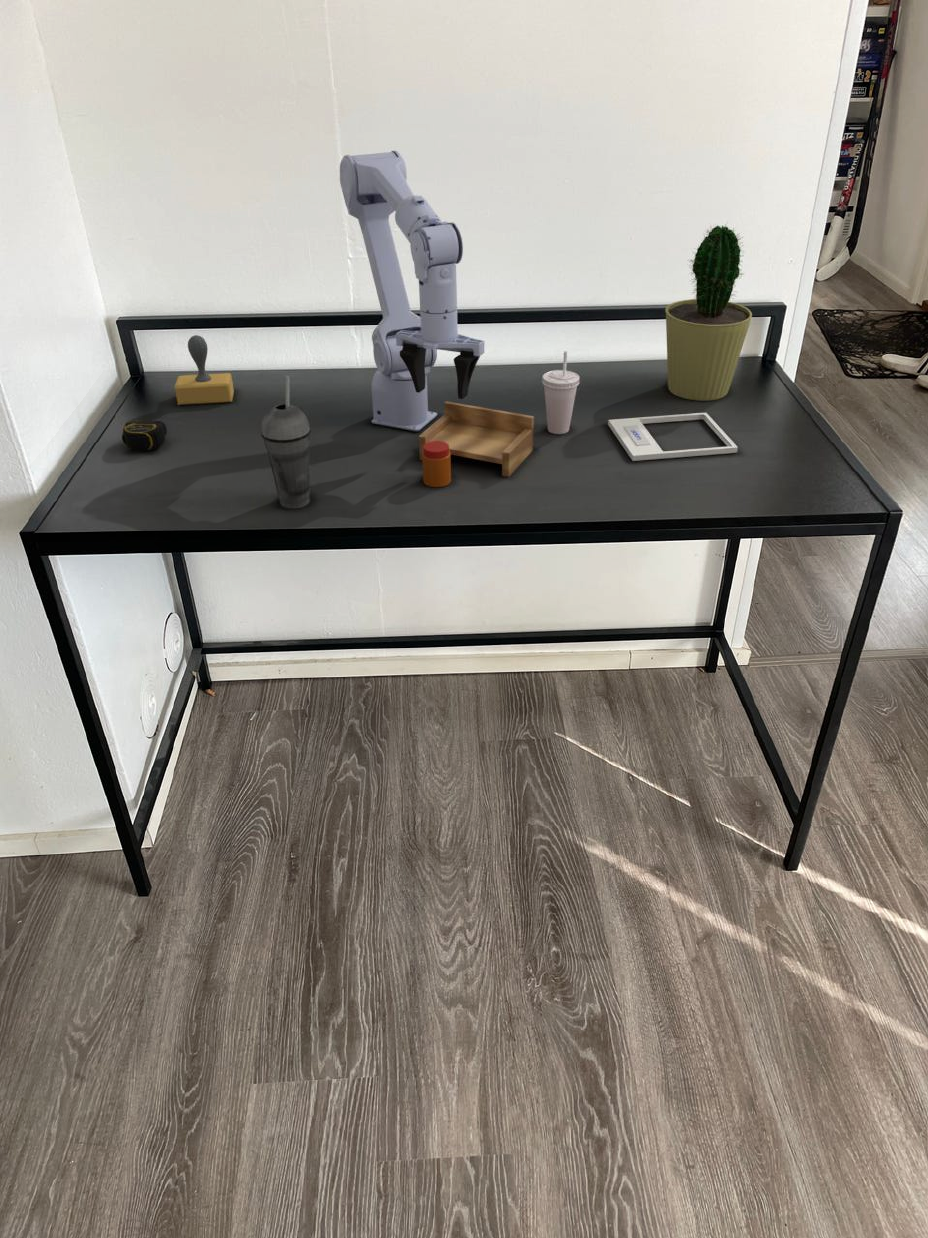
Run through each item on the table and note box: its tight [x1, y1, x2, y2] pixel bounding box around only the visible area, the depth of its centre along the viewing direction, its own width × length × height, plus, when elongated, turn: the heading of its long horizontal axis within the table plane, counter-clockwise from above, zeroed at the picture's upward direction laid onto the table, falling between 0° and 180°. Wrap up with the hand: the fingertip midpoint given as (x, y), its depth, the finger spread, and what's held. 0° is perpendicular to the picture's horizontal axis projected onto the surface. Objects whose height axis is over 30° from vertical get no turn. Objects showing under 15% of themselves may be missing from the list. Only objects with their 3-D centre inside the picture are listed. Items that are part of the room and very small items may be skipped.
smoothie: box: [541, 350, 580, 435], centre depth 162 cm, size 6×6×14 cm
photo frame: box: [607, 412, 739, 462], centre depth 162 cm, size 15×1×18 cm
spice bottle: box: [422, 441, 452, 488], centre depth 149 cm, size 4×4×6 cm
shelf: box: [418, 400, 535, 478], centre depth 156 cm, size 16×11×6 cm, turn 65°
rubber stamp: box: [174, 334, 235, 406], centre depth 176 cm, size 10×6×12 cm, turn 97°
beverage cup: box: [260, 375, 312, 510], centre depth 140 cm, size 7×7×20 cm
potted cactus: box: [664, 221, 753, 401], centre depth 172 cm, size 15×15×30 cm
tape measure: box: [121, 420, 168, 451], centre depth 161 cm, size 7×7×4 cm
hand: (441, 393), depth 153 cm, fingers open, 7 cm apart
